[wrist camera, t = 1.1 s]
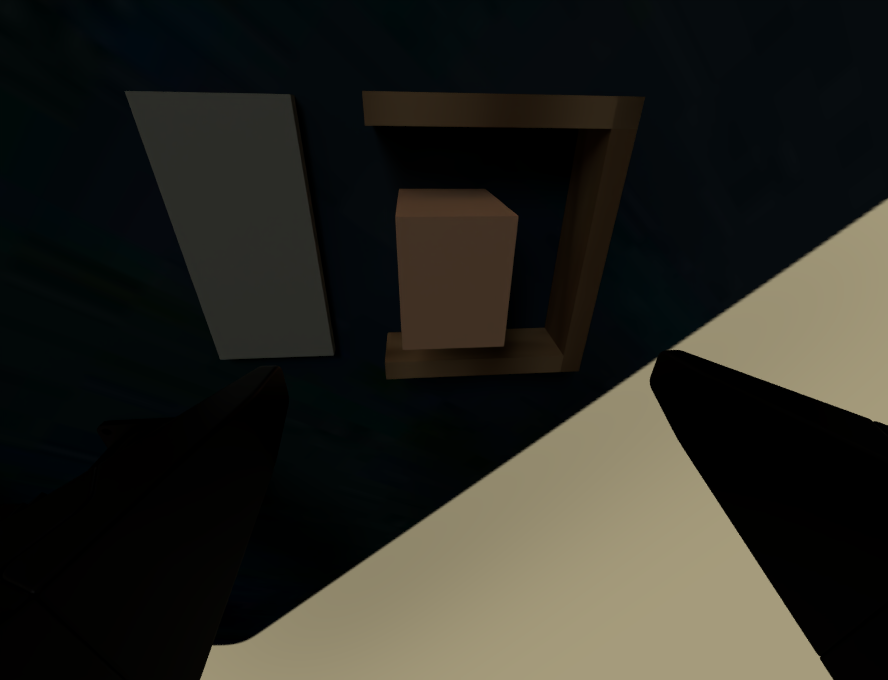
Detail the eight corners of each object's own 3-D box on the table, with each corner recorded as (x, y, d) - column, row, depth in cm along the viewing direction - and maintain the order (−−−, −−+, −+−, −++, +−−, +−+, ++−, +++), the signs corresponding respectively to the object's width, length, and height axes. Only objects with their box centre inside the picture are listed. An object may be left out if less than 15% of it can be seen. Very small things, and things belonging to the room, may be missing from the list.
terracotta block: (403, 290, 19) (402, 349, 14) (399, 188, 17) (395, 216, 12) (478, 288, 20) (503, 346, 15) (484, 188, 17) (518, 215, 12)
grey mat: (225, 353, 20) (220, 359, 20) (135, 92, 14) (124, 91, 14) (335, 349, 21) (333, 355, 20) (294, 95, 15) (290, 94, 14)
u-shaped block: (389, 347, 21) (386, 379, 18) (370, 96, 15) (362, 91, 12) (558, 342, 22) (578, 371, 19) (605, 101, 16) (645, 96, 13)
